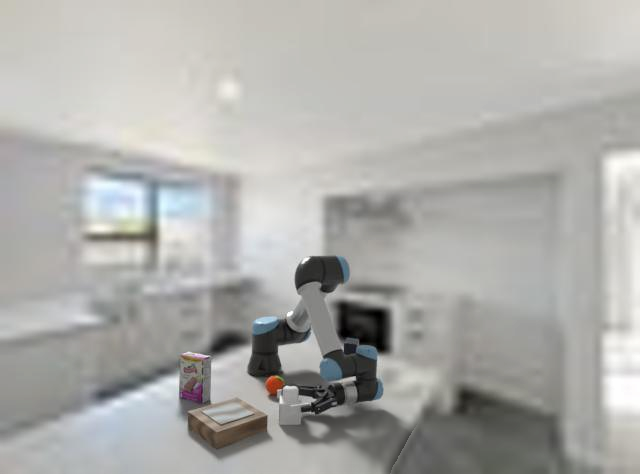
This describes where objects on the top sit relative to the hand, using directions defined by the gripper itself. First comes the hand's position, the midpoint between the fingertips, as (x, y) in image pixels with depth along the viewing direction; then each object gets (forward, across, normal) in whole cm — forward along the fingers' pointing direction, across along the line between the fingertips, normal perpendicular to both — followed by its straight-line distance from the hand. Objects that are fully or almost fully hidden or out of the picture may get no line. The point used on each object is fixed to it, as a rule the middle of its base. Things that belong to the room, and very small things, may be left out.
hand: (283, 401), depth 144 cm
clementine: (-5, +23, -7) cm, 25 cm away
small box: (-51, +49, -7) cm, 71 cm away
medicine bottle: (-2, 0, -7) cm, 7 cm away
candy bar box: (+25, +29, -7) cm, 39 cm away
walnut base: (+18, +1, -7) cm, 19 cm away
